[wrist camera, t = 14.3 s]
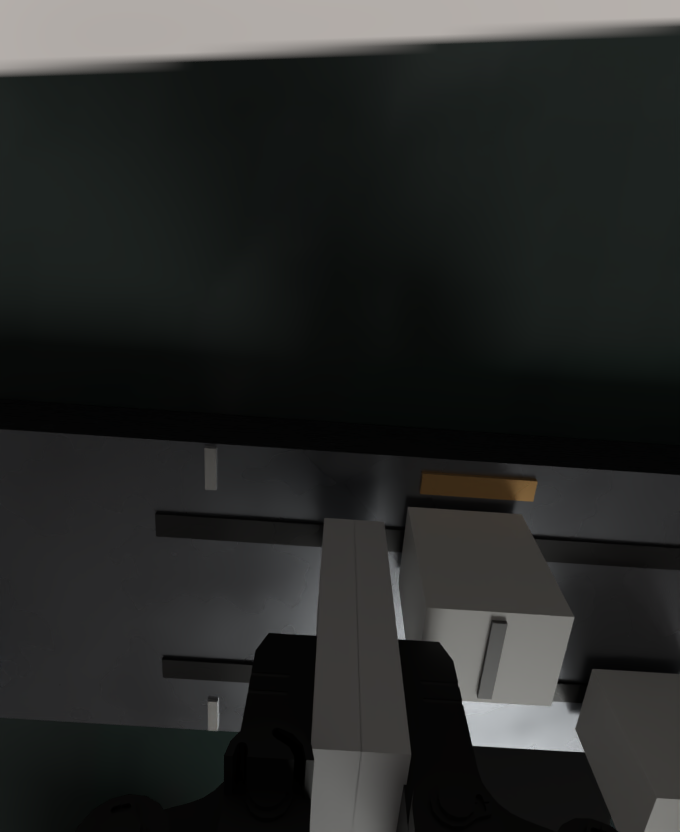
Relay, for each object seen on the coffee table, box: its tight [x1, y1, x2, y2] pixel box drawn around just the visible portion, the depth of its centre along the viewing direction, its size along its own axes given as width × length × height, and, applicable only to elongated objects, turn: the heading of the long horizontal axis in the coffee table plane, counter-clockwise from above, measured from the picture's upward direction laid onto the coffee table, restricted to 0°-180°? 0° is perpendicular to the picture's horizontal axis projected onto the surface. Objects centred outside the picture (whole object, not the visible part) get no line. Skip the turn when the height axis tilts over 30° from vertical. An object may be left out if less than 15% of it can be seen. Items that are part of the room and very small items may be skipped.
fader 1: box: [398, 507, 574, 706], centre depth 15 cm, size 3×2×4 cm
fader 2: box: [575, 669, 680, 832], centre depth 17 cm, size 3×2×4 cm
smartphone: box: [473, 746, 611, 832], centre depth 24 cm, size 7×1×15 cm
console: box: [0, 399, 680, 752], centre depth 18 cm, size 28×10×4 cm, turn 86°
